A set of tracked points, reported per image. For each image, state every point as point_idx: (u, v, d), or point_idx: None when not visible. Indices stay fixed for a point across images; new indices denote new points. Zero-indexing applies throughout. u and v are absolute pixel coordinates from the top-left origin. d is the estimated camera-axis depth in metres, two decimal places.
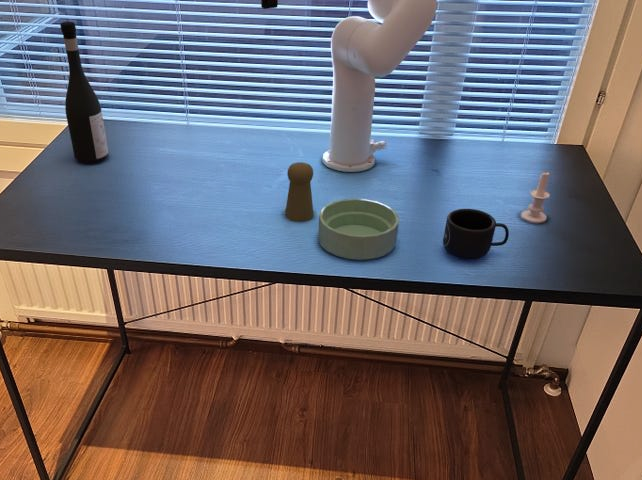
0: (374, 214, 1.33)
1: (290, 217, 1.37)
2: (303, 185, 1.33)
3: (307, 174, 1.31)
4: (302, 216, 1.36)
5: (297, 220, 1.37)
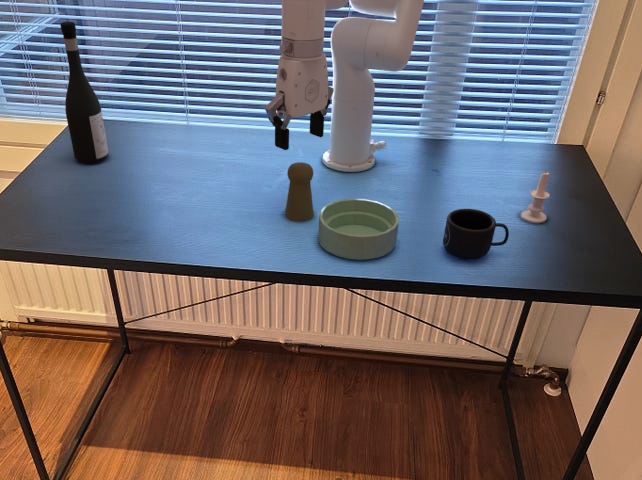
0: (374, 214, 1.33)
1: (290, 217, 1.37)
2: (303, 185, 1.33)
3: (307, 174, 1.31)
4: (302, 216, 1.36)
5: (297, 220, 1.37)
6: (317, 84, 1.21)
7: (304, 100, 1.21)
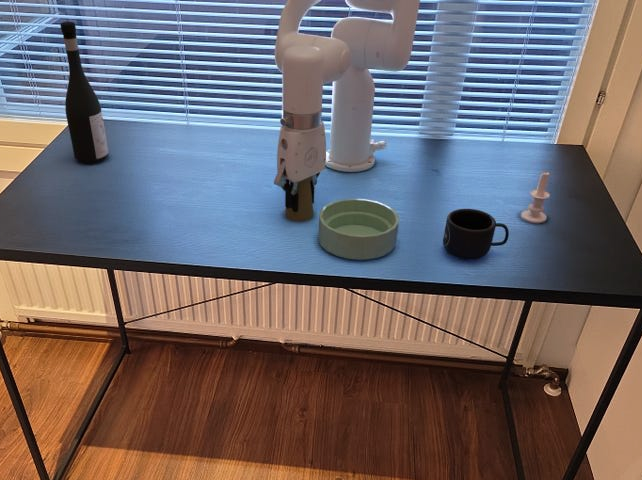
0: (374, 214, 1.33)
1: (290, 217, 1.37)
2: (303, 185, 1.33)
3: None
4: (302, 216, 1.36)
5: (297, 220, 1.37)
6: (316, 151, 1.29)
7: (304, 166, 1.29)
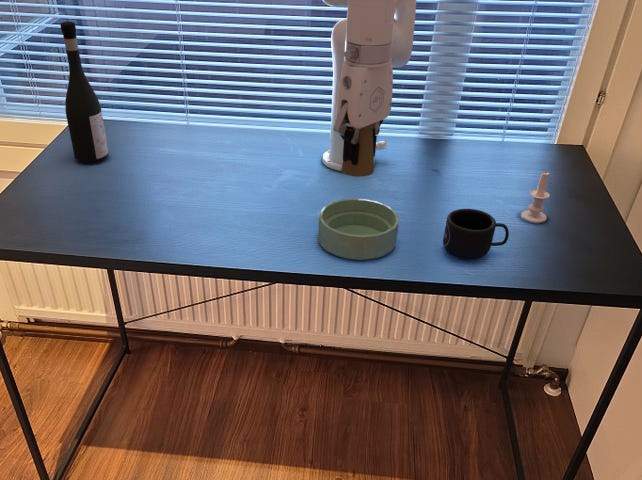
0: (374, 214, 1.33)
1: (348, 171, 1.20)
2: (365, 133, 1.16)
3: None
4: (362, 170, 1.19)
5: (356, 175, 1.20)
6: (382, 92, 1.12)
7: (368, 109, 1.12)
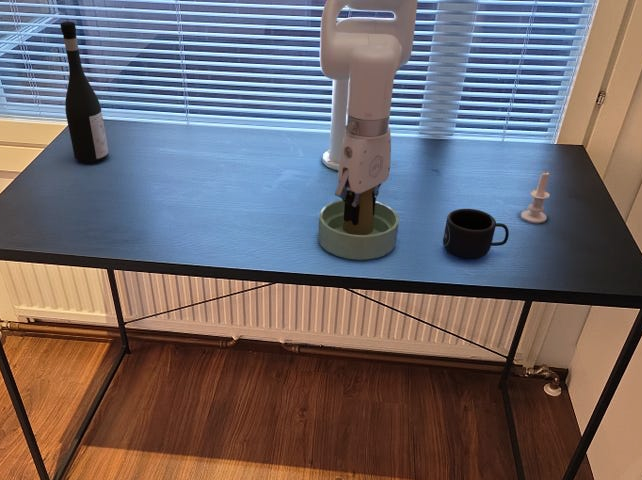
0: (374, 214, 1.33)
1: (349, 231, 1.27)
2: (365, 196, 1.23)
3: None
4: (362, 229, 1.26)
5: (357, 234, 1.26)
6: (381, 159, 1.19)
7: (368, 176, 1.19)
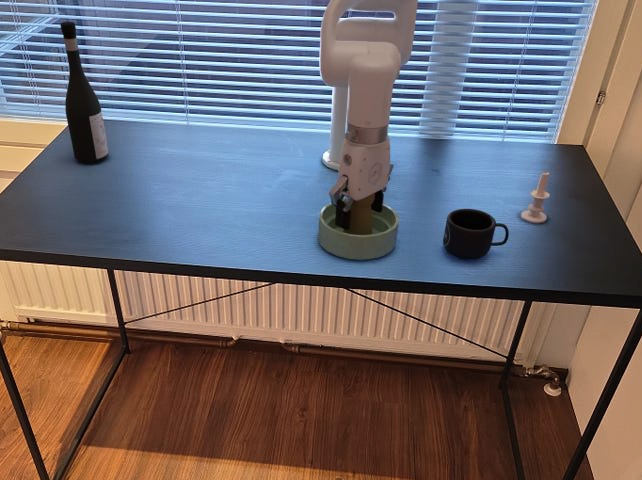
0: (374, 214, 1.33)
1: None
2: (364, 208, 1.24)
3: (369, 197, 1.23)
4: None
5: None
6: (380, 166, 1.20)
7: (367, 183, 1.20)
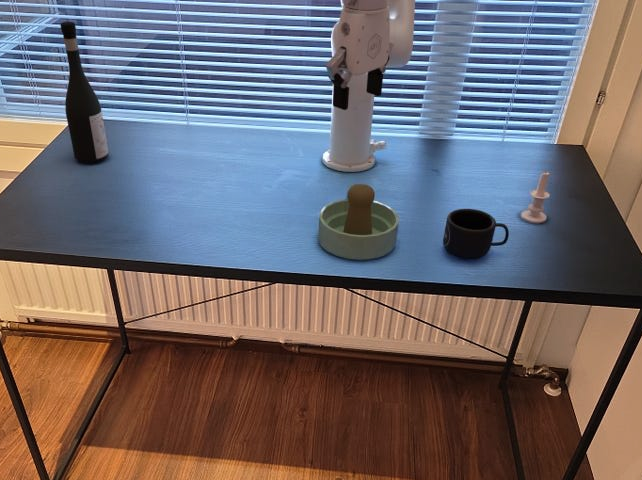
0: (374, 214, 1.33)
1: None
2: (364, 208, 1.24)
3: (369, 197, 1.23)
4: None
5: None
6: (379, 39, 1.15)
7: (366, 56, 1.15)
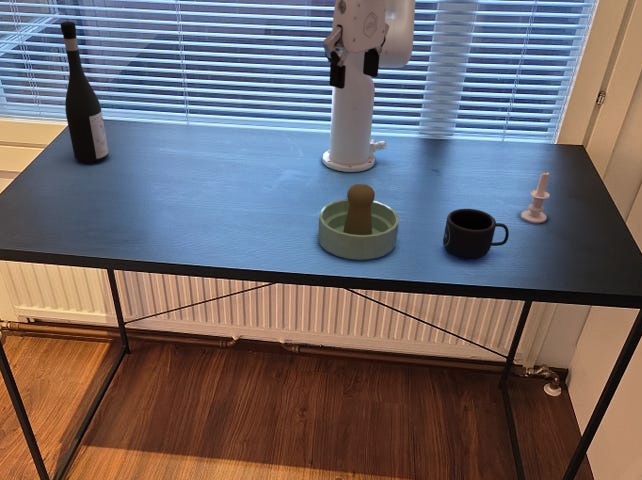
0: (374, 214, 1.33)
1: None
2: (364, 208, 1.24)
3: (369, 197, 1.23)
4: None
5: None
6: (375, 18, 1.17)
7: (362, 34, 1.17)
